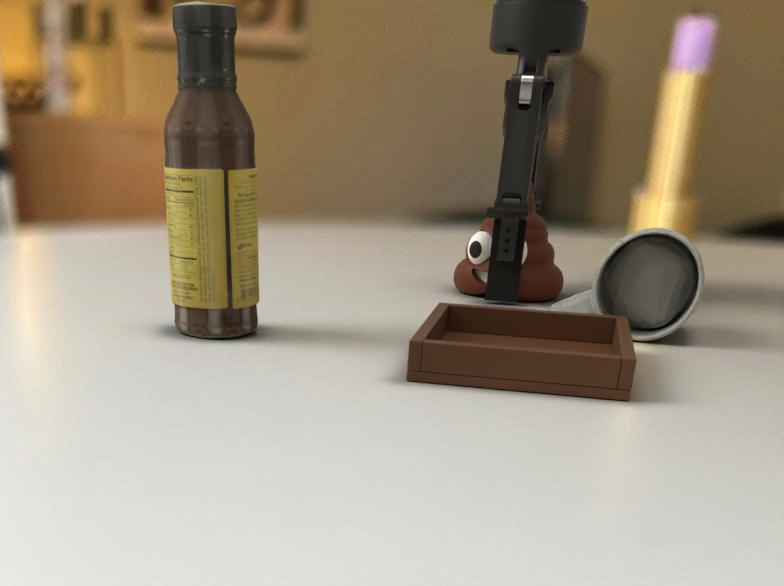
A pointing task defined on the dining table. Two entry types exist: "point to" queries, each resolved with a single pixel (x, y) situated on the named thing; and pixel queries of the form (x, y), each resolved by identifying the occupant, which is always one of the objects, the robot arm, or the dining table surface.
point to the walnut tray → (524, 351)
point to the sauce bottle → (210, 180)
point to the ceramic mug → (645, 283)
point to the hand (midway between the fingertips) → (504, 291)
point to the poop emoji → (537, 263)
